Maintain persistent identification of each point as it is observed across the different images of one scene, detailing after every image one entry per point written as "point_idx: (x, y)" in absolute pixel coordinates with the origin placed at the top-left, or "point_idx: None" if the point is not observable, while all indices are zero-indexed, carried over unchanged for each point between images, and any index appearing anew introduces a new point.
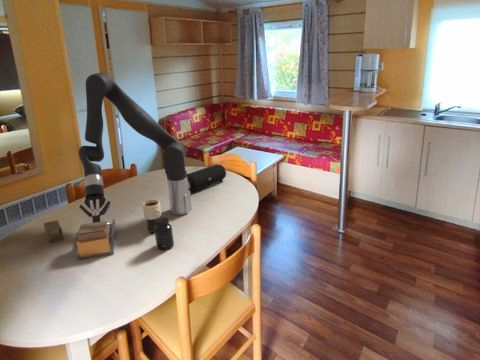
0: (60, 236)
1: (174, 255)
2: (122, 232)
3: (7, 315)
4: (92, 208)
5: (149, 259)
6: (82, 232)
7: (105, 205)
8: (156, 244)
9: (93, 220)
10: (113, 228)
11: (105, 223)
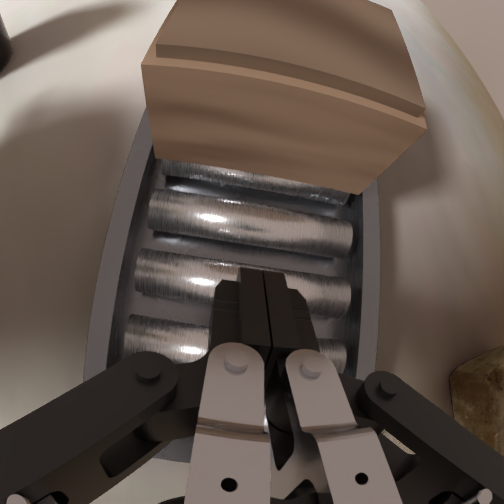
0: (470, 365)
1: (6, 23)
2: (63, 283)
3: (440, 26)
4: (351, 457)
5: (70, 14)
6: (368, 4)
7: (38, 467)
8: (4, 47)
9: (299, 317)
10: (104, 274)
11: (171, 19)
